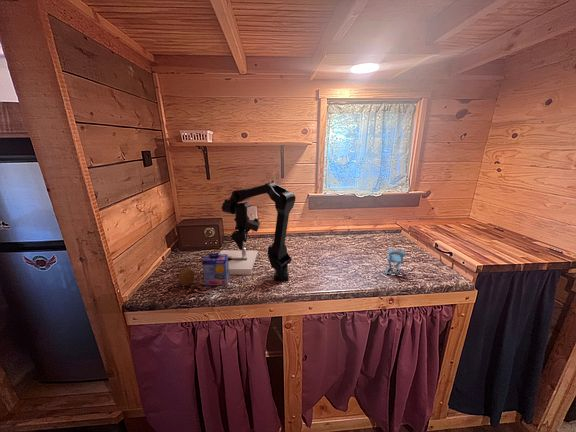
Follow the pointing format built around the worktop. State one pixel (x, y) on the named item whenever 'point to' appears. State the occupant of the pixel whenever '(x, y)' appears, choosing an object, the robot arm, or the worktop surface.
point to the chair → (395, 259)
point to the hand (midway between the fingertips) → (243, 245)
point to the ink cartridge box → (215, 269)
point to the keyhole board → (240, 261)
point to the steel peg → (244, 254)
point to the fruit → (186, 277)
